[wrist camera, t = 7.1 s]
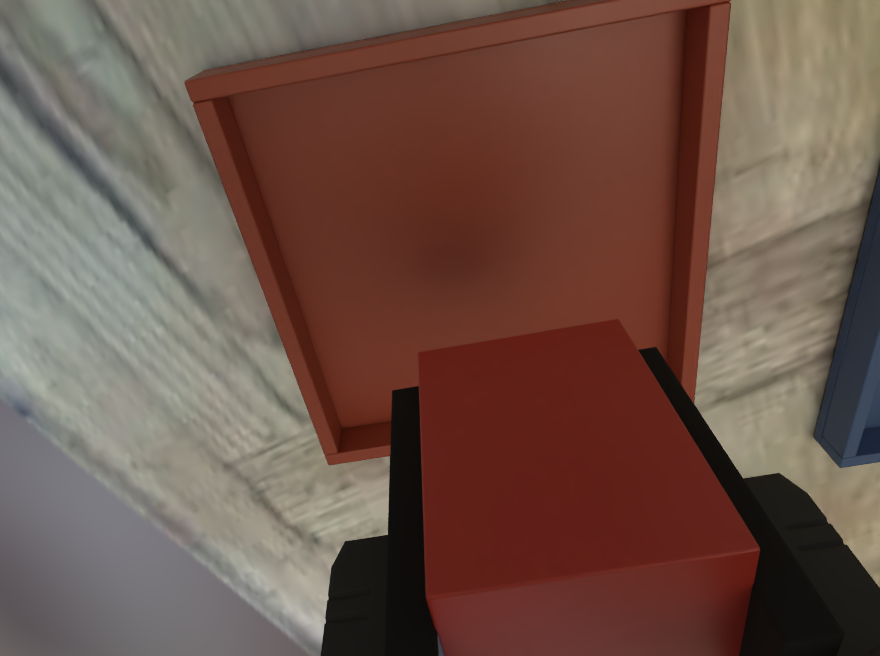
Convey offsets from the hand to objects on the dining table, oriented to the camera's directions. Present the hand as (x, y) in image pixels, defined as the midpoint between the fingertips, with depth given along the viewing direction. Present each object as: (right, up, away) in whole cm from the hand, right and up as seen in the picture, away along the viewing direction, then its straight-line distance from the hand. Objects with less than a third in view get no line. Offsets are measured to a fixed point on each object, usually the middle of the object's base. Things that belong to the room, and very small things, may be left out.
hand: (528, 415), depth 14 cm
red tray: (-1, +5, +8) cm, 9 cm away
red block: (0, 0, 0) cm, 0 cm away
